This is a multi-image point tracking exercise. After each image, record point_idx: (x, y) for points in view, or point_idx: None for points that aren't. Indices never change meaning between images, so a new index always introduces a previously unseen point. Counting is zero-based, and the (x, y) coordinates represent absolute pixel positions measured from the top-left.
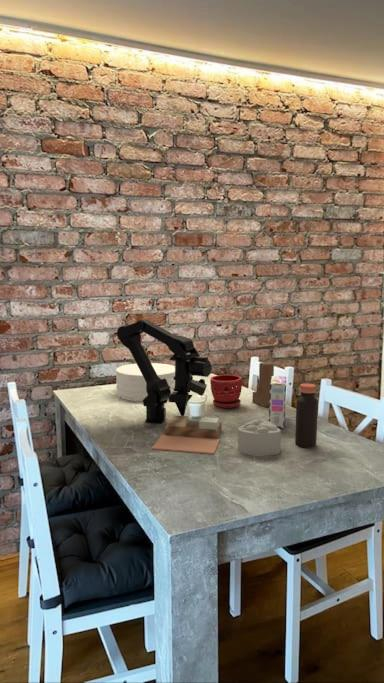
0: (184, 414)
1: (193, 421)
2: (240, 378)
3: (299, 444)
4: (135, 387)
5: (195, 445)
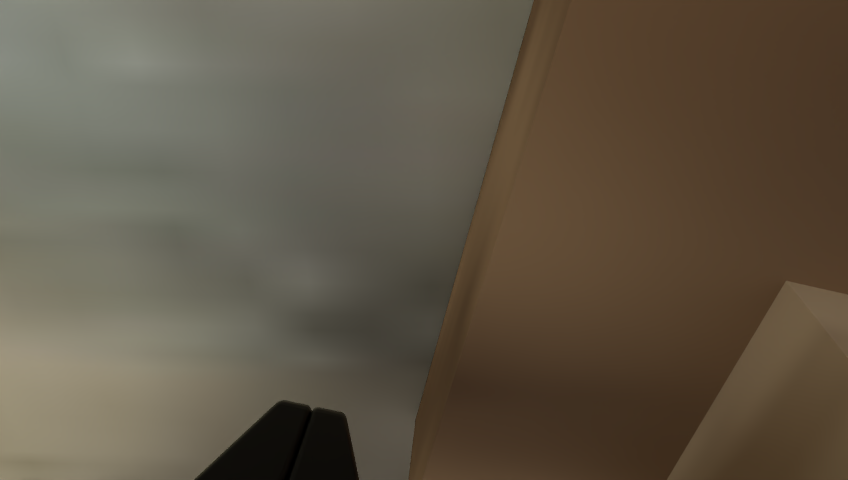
0: (291, 413)
1: (659, 116)
2: None
3: None
4: None
5: None
